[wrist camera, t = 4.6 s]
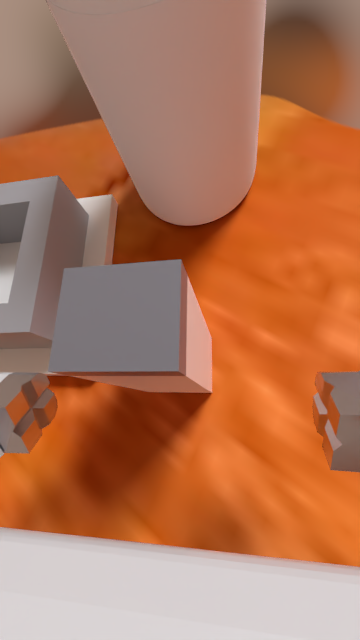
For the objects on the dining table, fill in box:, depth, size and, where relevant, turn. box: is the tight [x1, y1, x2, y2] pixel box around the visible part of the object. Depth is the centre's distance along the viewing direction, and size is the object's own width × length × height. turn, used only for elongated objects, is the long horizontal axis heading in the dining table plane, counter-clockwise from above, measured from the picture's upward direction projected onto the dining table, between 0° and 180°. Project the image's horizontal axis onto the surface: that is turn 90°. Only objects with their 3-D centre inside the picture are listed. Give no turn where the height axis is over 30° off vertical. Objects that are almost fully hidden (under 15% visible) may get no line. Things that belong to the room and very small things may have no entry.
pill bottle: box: [46, 0, 266, 226], centre depth 13 cm, size 8×8×15 cm
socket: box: [0, 176, 118, 376], centre depth 18 cm, size 12×12×4 cm
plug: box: [48, 259, 212, 393], centre depth 12 cm, size 4×3×9 cm
